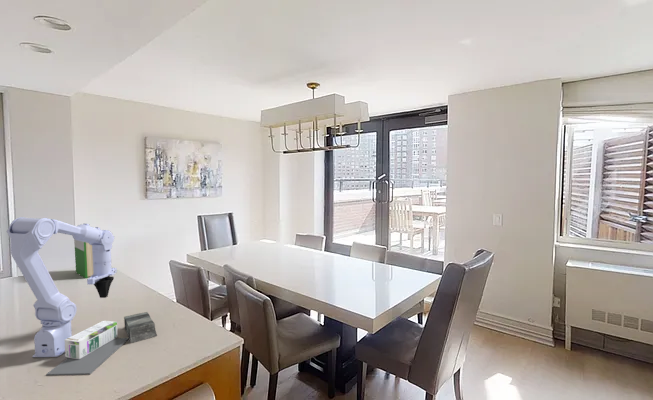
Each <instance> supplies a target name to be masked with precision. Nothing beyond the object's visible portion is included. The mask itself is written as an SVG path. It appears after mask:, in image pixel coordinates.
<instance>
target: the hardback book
mask: <svg viewBox="0 0 653 400" xmlns="http://www.w3.org/2000/svg"><path fill="white" fill-rule="evenodd" d="M73 241H74V258H75V259H74V263H75V273H76V272H77V273H76V274H78V275H79V274H80V275H79V276H81V277H82V276H83V277H82V278H84V279H85V278H86V279H89V278H90V277H91V276H92V275H93V255H92V245H90V244H89V243H86V242H82V241H77V240H75V239H74V238H73Z"/></svg>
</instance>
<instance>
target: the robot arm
mask: <svg viewBox="0 0 653 400" xmlns="http://www.w3.org/2000/svg"><path fill="white" fill-rule="evenodd" d="M7 228H8V229H7V230H6V233H7V235H8V237H9V239H10V255H11V257H12V259H13V260H14V262H15V264H16V265H17V267H18V269H19V270H20V273H21V274H22V276H23V277H24V279H25V281H26V283H27V284H28V286H29V288H30V290H31V292H32V293H33V295H34V297H35V298H36V300H35V302H34V303H33V305H32V306H33V307H34V311H35V312H34V315H35V318H36V319H37V320H38V321H40V324H41V325H42V326H41V328H40V329H39V331H37V332H36V333H35V335H34V338H33V340H34V354H33V355H32V358H51V357H52V358H57V357H60V356H62V355H64V353H65V342H64V340H65V339H67V338H69V337H71V336H73V334H72V333H73V332H72V331H73V330H72V321H73V319H74V318H75V316H76V314H77V304H76V303H74V302H73V301H71V300H70V298H69V297H68V296H67V295H65V294H63V293H61V292H60V291H59V289H58V287H57V285H56V284H55V281H54V280H53V278H52V276H51V274H50V272H49V270H48V268H47V267H46V265H45V263H44V261H43V259H42V257H41V255H40V254H39V251H40V250H41V249H42V248H43V247H44V246H45V245H46V244H47V242H48V241H49V240H50V239H51V238H52V236H53V235H57V234H62V235H69V236H72V238H73V240H74V239H75V240H77V241H82V242H86V243H89V244H90V245H92V255H93V275H92V276H89V277H88V278H86V279H87V280H86V282H87V285H93V286H94V287H95V289H96V291H97V293H98V295H99V298H100V299H104V298H105V299H106V298H107V297H108V296H109V293H110V288H111V285H112V282H113V281H114V276H115V274H117V271H118V270H117V267H112V248H113V243H114V241H115V236H114V235H113V232H111V231H110V230H109V229H101V227H98V226H95V227H94V226H90V224H89V223H83V224H82V223H81V224H78V225H73V224H70V223H67V222H64V221H61V220H58V219H54V218H53V219H52V218H49V217H42V218H37V217H36V218H35V217H23V216H21V217H17V218H15V219H14V220H12V221H11V222H10V225H9V227H7Z"/></svg>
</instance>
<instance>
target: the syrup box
mask: <svg viewBox="0 0 653 400" xmlns="http://www.w3.org/2000/svg"><path fill="white" fill-rule="evenodd" d="M115 338H119V335H118V322H117V321H111V320H102V321H100V322H98V323H96V324H94V325H92V326H89V327H88V328H86V329H84V330H82V331H79V332H78V333H76V334H74V335H73V334H72V336H71V337H69V338H67V339H65V340H64V342H65V352H64V353H65V354H64V356H65V358H73V359H81V358H83V357H84V356H86V355H88V354H90V353H91V352H93V351H95V350H96V349H98V348H100V347H101V346H103V345H105V344H106V343H108V342H110V341H112V340H114V339H115Z"/></svg>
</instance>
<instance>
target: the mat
mask: <svg viewBox="0 0 653 400" xmlns="http://www.w3.org/2000/svg"><path fill="white" fill-rule="evenodd" d="M128 341H130V340H129V337H120V338H119V337H117V338H115V339H114V340H112V341H110V342H108V343H106V344H105V345H103V346H101V347H100V348H98V349H96V350H95V351H93V352H91V353H90V354H88V355H86V356H84V357H83V358H81V359H73V358H68V357H66V359H64V360H62V361H61V362H60V363H58V364H57V365H56V366H55V367H53V368H52V369H51V370H49V372H47V373H46V374H45V375H46V376H77V375H78V376H80V375H81V376H83V375H85V374H86V375H85V376H87V374H88V375H91V374H92V373H93V372H95V371H96V370H97V369H98V368H99V367H100V366H101V365H102V364H103V363H105V362H106V360H108V359H109V358H111V356H113V355H114V353H115V352H116V351H118V350H119V349H120V348H121V347H122V346H123V345H124V344H125V343H127V342H128Z"/></svg>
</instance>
